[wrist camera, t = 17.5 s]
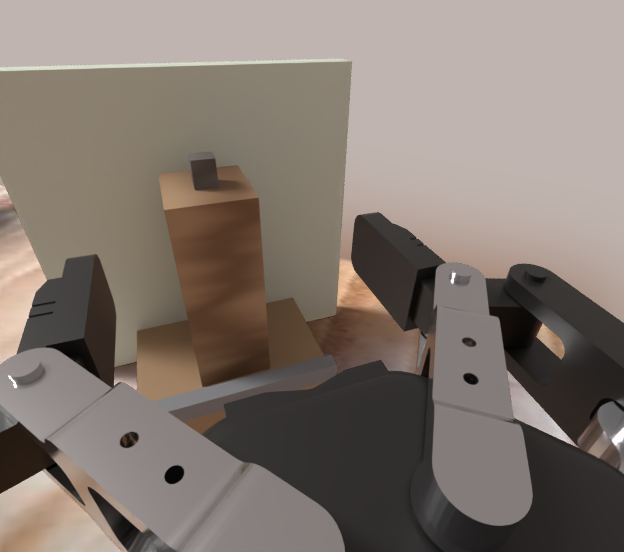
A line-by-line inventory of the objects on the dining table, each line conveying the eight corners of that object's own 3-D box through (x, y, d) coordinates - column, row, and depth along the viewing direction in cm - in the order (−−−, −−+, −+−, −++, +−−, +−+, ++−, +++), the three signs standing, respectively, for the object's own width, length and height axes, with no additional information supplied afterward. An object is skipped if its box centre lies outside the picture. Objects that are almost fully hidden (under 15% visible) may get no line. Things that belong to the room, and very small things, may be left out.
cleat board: (74, 487, 22) (-162, 115, 11) (90, 359, 30) (-36, 68, 19) (385, 391, 28) (441, 84, 17) (329, 305, 36) (341, 58, 25)
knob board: (202, 386, 25) (157, 178, 17) (192, 334, 28) (152, 145, 21) (270, 368, 26) (256, 167, 18) (252, 321, 30) (235, 138, 22)
